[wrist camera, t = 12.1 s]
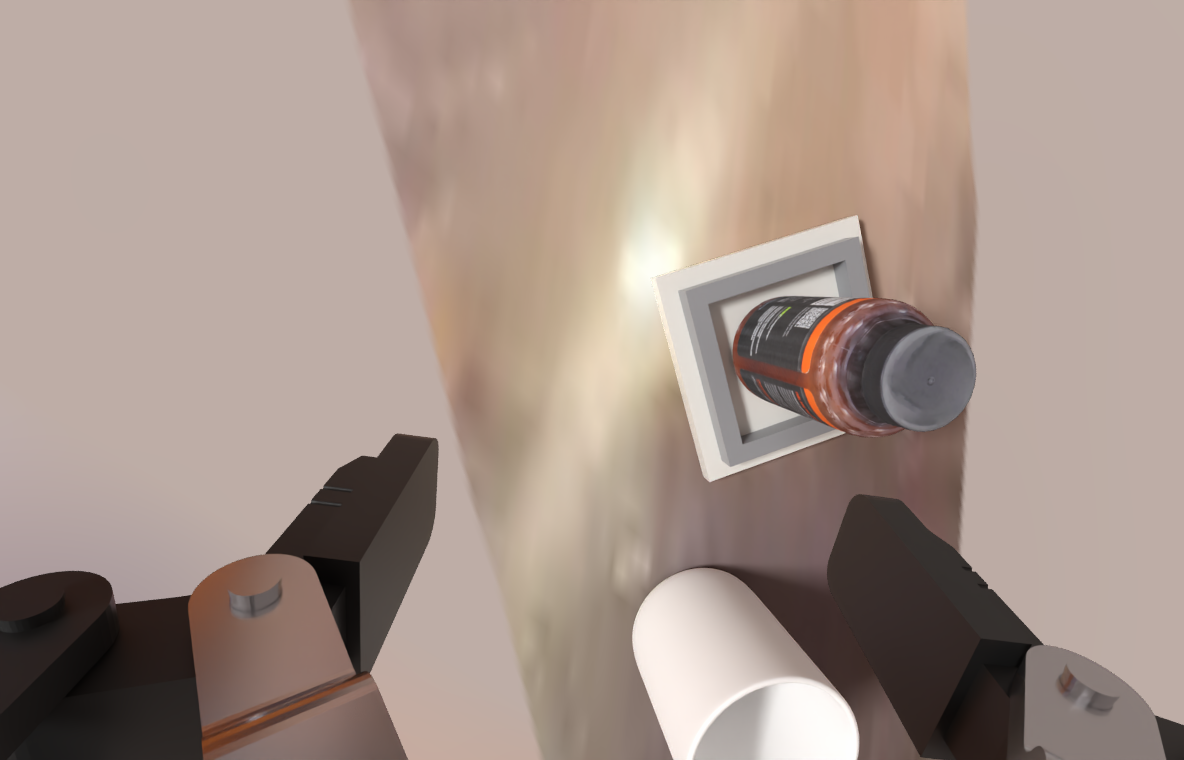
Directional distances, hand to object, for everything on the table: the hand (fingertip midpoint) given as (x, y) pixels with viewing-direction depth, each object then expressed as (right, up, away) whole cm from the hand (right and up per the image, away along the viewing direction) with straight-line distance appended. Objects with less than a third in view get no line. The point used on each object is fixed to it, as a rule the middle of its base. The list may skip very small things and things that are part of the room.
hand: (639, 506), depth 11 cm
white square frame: (+10, +4, +22) cm, 24 cm away
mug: (+6, -14, +25) cm, 29 cm away
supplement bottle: (+9, +4, +21) cm, 23 cm away
